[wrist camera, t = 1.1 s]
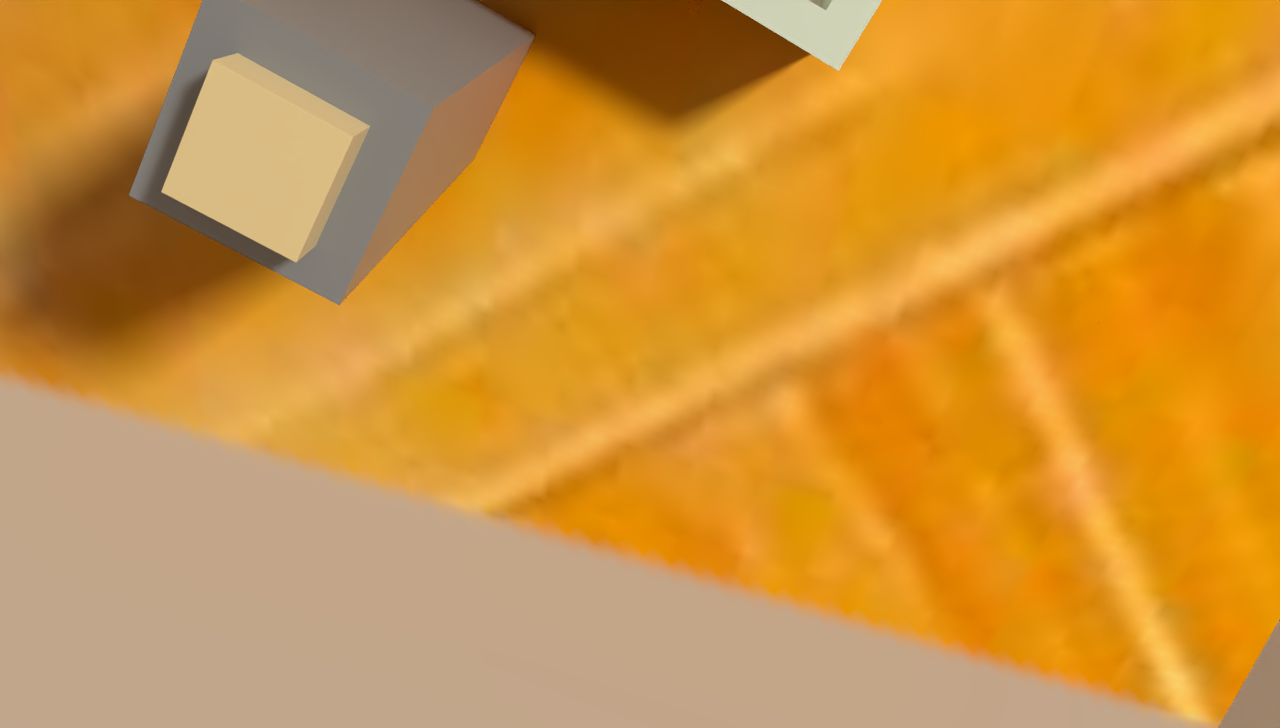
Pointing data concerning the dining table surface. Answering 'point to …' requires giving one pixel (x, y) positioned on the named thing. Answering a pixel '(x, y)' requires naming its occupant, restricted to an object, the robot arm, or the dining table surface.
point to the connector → (325, 126)
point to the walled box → (814, 23)
